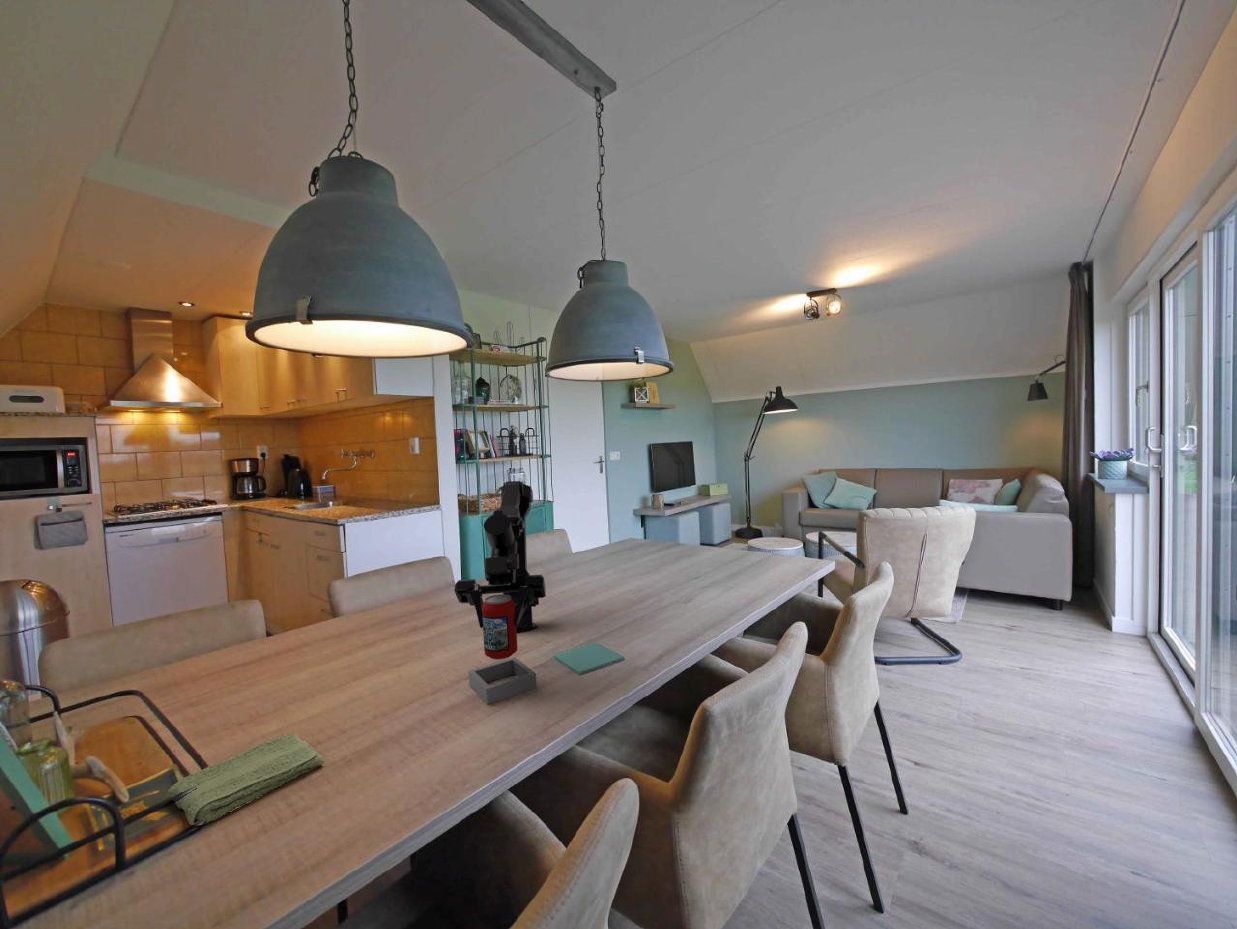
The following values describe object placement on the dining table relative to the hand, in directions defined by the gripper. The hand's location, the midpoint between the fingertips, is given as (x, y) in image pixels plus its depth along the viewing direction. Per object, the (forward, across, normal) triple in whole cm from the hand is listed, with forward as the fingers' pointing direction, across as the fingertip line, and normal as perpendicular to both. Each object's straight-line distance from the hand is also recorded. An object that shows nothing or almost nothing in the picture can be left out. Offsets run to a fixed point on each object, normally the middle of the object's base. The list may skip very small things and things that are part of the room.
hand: (498, 626), depth 107 cm
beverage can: (+4, 0, +6) cm, 7 cm away
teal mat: (+1, +18, +18) cm, 25 cm away
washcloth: (+27, -35, -8) cm, 45 cm away
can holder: (+9, 0, +10) cm, 13 cm away
